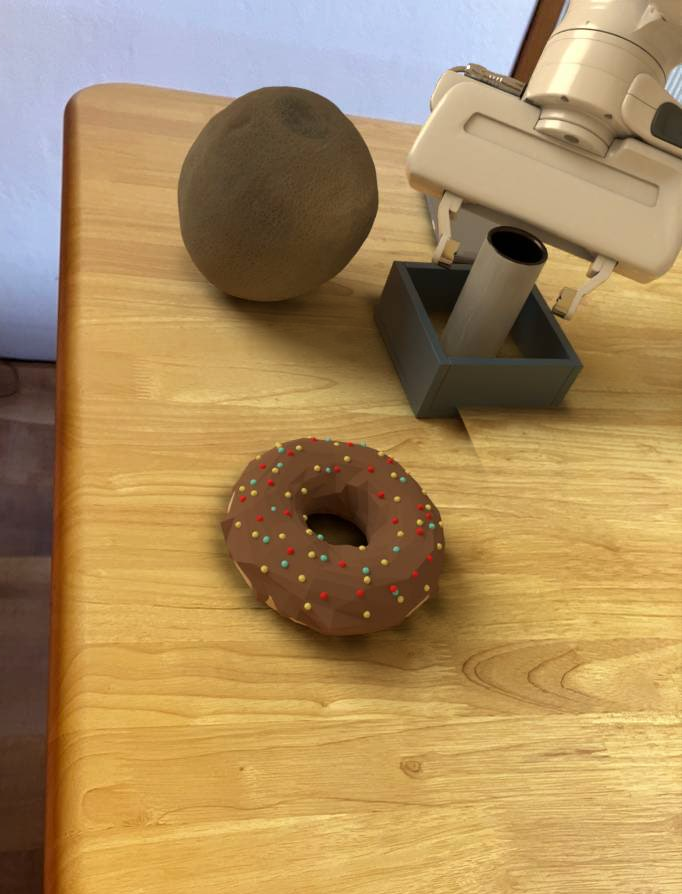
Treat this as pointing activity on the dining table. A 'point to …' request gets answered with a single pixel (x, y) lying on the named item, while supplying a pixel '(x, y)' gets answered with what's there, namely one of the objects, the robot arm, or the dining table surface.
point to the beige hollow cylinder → (494, 293)
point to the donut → (334, 566)
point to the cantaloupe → (276, 194)
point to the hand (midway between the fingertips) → (500, 290)
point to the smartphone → (463, 231)
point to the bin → (462, 378)
